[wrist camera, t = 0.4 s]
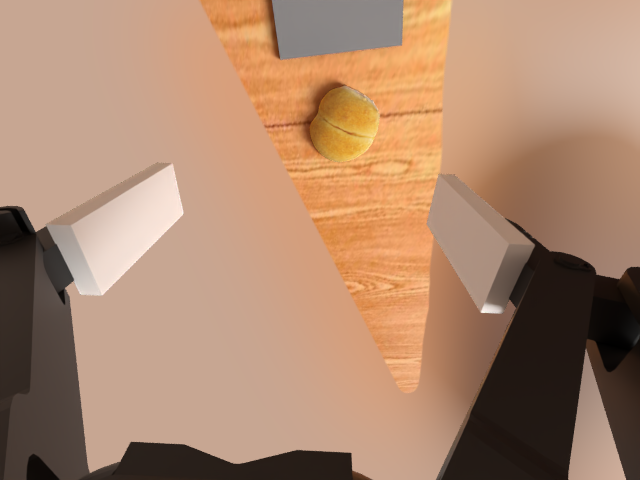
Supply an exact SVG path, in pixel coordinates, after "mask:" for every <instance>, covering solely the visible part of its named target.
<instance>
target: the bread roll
mask: <svg viewBox="0 0 640 480" xmlns="http://www.w3.org/2000/svg"><path fill="white" fill-rule="evenodd" d="M379 119H380V115H379V111H378V109H377V107H376V105H375V103H374V102H373V100H371V99H370V98H368V97H367V96H365V95H364V94H362V93H360V92H358V91H357V90H355V89H351V88H350V87H348V86H346V85H344V86H342V87H340V88H335V89H332V90H330V91H329V92H328V93H327V94H326V95H325V96H324V97H323V99H322V100H321V103H320V105H319V110H318V114H317V116H316V117H315V118H314V119H313V121H312V122H311V125H310V136H311V139H312V142H313V144H314V146H315V148H316V149H317V150H318V151H319V153H320V154H321V155H322V156H324V157H325V158H327V159H329V160H331V161H334V162H345V161H350V160H353V159H355V158H357V157H359V156H360V155H362V154H363V153H365V152H366V151H367V150H368V148H369V147H370V146H371V144H372V142H373V140H374V138H375V135H376V133H377V130H378V126H379Z"/></svg>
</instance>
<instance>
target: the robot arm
mask: <svg viewBox="0 0 640 480" xmlns="http://www.w3.org/2000/svg"><path fill="white" fill-rule="evenodd" d="M183 214H184V213H183V208H182V204H181V200H180V195H179V190H178V186H177V181H176V177H175V173H174V168H173V164H172V163H156V164H154V165H152V166H150V167H149V168H147V169H145V170H143V171H141V172H139V173H138V174H136V175H134V176H132V177H130V178H129V179H127V180H125V181H123V182H121V183H120V184H118V185H116V186H114V187H112V188H110V189H109V190H107V191H105V192H103V193H101V194H100V195H98V196H96V197H94V198H92V199H91V200H89V201H87V202H85V203H83V204H82V205H80V206H78V207H76V208H74V209H72V210H71V211H69V212H67V213H65V214H63V215H62V216H60V217H58V218H56V219H54V220H53V221H51V222H49V223H47V224H46V227H44V228H43V229H41V230H39V231H37V232H35V230H34V228H33V226H32V225H31V222H30V220H29V219H28V217H27V215H26V213H25V211H24V209H23V208H22V207H18V206H6V207H0V480H372V479H370V478H368V477H366V476H364V475H362V474H360V473H357V472H354V471H352V458H351V453H342V452H323V451H303V450H296V451H292V452H287V453H283V454H279V455H275V456H271V457H267V458H263V459H259V460H255V461H251V462H246V463H242V464H233V463H230V462H227V461H225V460H223V459H220V458H217V457H215V456H212V455H210V454H207V453H204V452H202V451H200V450H197V449H195V448H192V447H189V446H187V445H183V444H164V443H144V442H131V443H130V445H129V447H128V448H127V451H126V452H125V454H124V456H123V458H122V459H121V462H117V463H114V464H112V465H109V466H106V467H103V468H101V469H98V470H96V471H94V472H92V473H89V469H88V464H87V455H86V446H85V437H84V427H83V418H82V409H81V400H80V391H79V381H78V372H77V363H76V353H75V344H74V335H73V326H72V316H71V308H70V298H69V295H68V294H67V292H66V290H65V287H67V286H68V285H69V284H70V283H71V282H73V281H74V282H75V285H76V287H77V289H78V291H79V293H80V295H101V296H102V295H103V294H104V293H105V292H106V291H107V290H108V289H109V288H110V287H111V286H112V285H113V284H114V283H115V282H116V281H117V280H118V279H119V278H120V277H121V276H122V275H123V274H124V273H125V272H126V271H127V270H128V269H129V268H130V267H131V266H132V265H133V264H134V263H135V262H136V261H137V260H138V259H139V258H140V257H141V256H142V255H143V254H144V253H145V252H146V251H147V250H148V249H149V248H150V247H151V246H152V245H153V244H154V243H155V242H156V241H157V240H158V239H159V238H160V237H161V236H162V235H163V234H164V233H165V232H166V231H167V230H168V229H169V228H170V227H171V226H172V225H173V224H174V223H175V222H176V221H177V220H178V219H179V218H180V217H181V216H182V215H183ZM427 226H428V227H429V229H430V230H431V232H432V234H433V235H434V237H435V238H436V240H437V242H438V243H439V245H440V247H441V248H442V250H443V252H444V253H445V255H446V257H447V258H448V260H449V262H450V263H451V265H452V266H453V268H454V270H455V271H456V273H457V275H458V276H459V278H460V280H461V281H462V283H463V284H464V286H465V288H466V289H467V291H468V293H469V294H470V296H471V298H472V299H473V301H474V302H475V304H476V306H477V307H478V309H479V310H480V312H482V313H504V310H505V308H506V306H507V304H508V302H509V300H511V302H512V303H513V304H514V306H515V307H516V310H515V312H514V314H513V316H512V318H511V320H510V322H509V324H508V326H507V328H506V330H505V333H504V335H503V338H502V339H501V342H500V344H499V346H498V348H497V350H496V352H495V354H494V357H493V359H492V361H491V363H490V365H489V367H488V369H487V372H486V374H485V376H484V378H483V380H482V382H481V384H480V387H479V389H478V391H477V393H476V395H475V397H474V399H473V402H472V404H471V406H470V408H469V410H468V412H467V415H466V417H465V419H464V421H463V423H462V425H461V427H460V429H459V432H458V434H457V436H456V438H455V440H454V442H453V445H452V447H451V449H450V451H449V453H448V455H447V457H446V459H445V462H444V464H443V466H442V468H441V470H440V472H439V474H438V477H437V479H436V480H568V470H569V464H570V456H571V449H572V442H573V435H574V428H575V421H576V414H577V407H578V399H579V391H580V385H581V378H582V371H583V364H584V356H585V349H587V352H588V356H589V359H590V362H591V365H592V369H593V372H594V375H595V378H596V382H597V385H598V388H599V392H600V395H601V398H602V402H603V405H604V408H605V411H606V415H607V418H608V421H609V425H610V428H611V431H612V434H613V438H614V441H615V444H616V448H617V451H618V454H619V457H620V461H621V464H622V467H623V471H624V474H625V477H626V480H640V267H630V268H628V269H627V270H626V271H625V273H624V274H623V275H622V277H621V278H620V279H615V278H610V277H605V276H600V275H596V270H595V268H594V267H593V266H592V265H591V264H589V263H588V262H586V261H584V260H582V259H580V258H578V257H576V256H573V255H570V254H566V253H562V252H553V251H552V252H550V251H549V250H548V249H546V248H545V247H544V246H543V245H542V244H541V243H539V242H538V241H537V240H536V239H534V238H532V236H531V235H530V234H529V233H527V232H526V231H525V230H524V229H523V228H522V227H520V226H519V225H518V224H516V223H514V222H512V221H510V220H508V219H506V218H504V217H502V216H501V215H500V214H499V213H498V212H497V211H496V210H494V209H493V208H492V207H491V206H490V205H489V204H487V203H486V202H485V201H484V200H483V199H482V198H481V197H479V196H478V195H477V194H476V193H475V192H474V191H473V190H471V189H470V188H469V187H468V186H467V185H466V184H465V183H463V182H462V181H461V180H460V179H459V178H458V177H456V176H455V175H452V174H438V178H437V182H436V187H435V191H434V195H433V199H432V203H431V207H430V212H429V216H428V220H427Z"/></svg>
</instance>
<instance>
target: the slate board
mask: <svg viewBox="0 0 640 480" xmlns="http://www.w3.org/2000/svg"><path fill="white" fill-rule="evenodd" d="M272 5H273V12H274V19H275V26H276V33H277V40H278V47H279V54H280V60H287V59H296V58H304V57H312V56H321V55H329V54H338V53H346V52H354V51H363V50H371V49H380V48H388V47H396V46H401V45H402V28H403V0H272Z"/></svg>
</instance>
